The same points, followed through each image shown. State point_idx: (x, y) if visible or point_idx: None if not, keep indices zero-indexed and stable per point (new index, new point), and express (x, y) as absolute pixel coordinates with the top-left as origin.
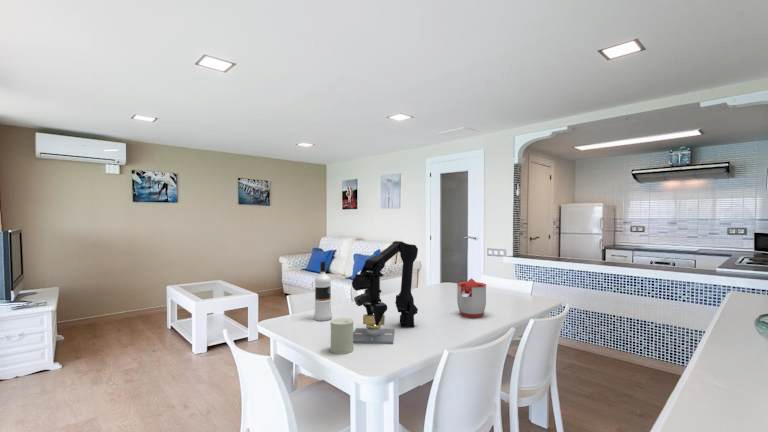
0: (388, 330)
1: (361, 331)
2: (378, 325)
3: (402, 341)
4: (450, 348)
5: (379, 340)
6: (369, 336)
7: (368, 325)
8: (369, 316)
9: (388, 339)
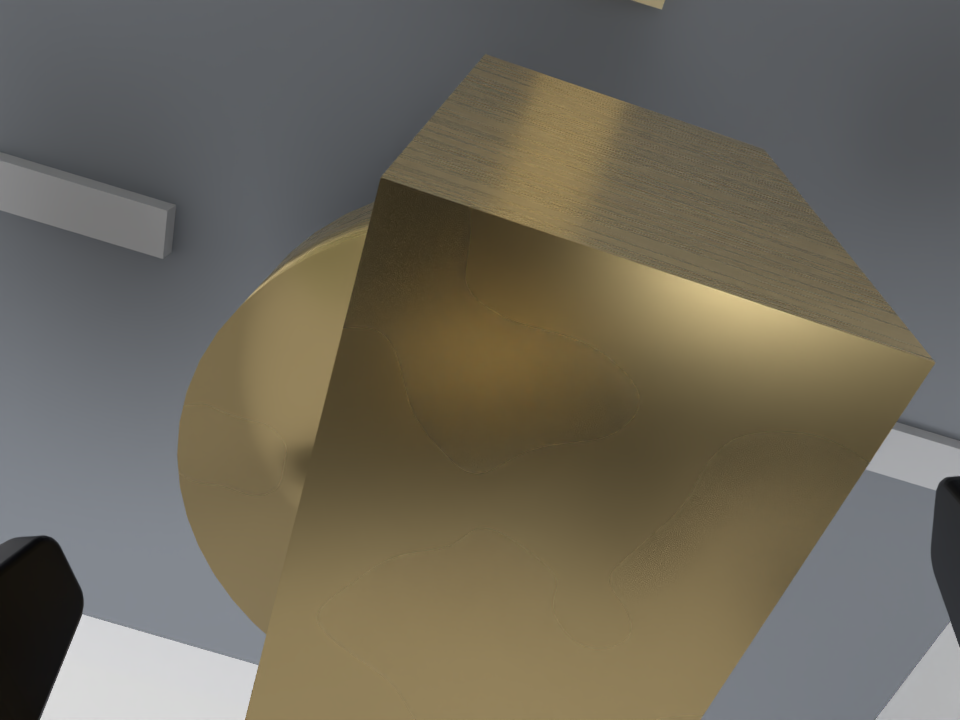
0: (724, 701)
1: (940, 16)
2: (254, 612)
3: (147, 710)
4: None
5: (24, 361)
6: (347, 187)
7: (264, 284)
8: (278, 621)
9: (94, 544)
